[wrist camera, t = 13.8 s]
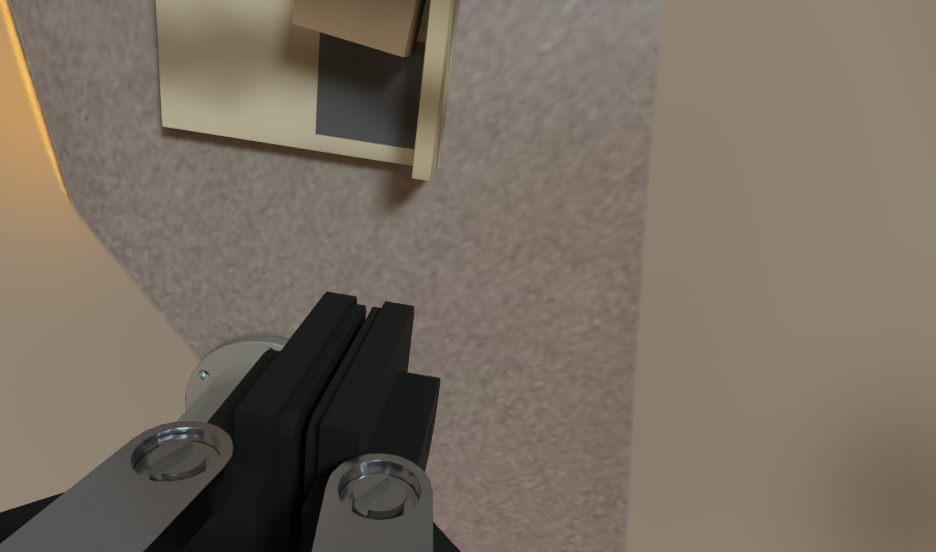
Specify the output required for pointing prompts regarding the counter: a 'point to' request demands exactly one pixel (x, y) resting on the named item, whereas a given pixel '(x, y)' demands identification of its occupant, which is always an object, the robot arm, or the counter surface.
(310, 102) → the board
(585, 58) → the counter surface
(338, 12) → the block
